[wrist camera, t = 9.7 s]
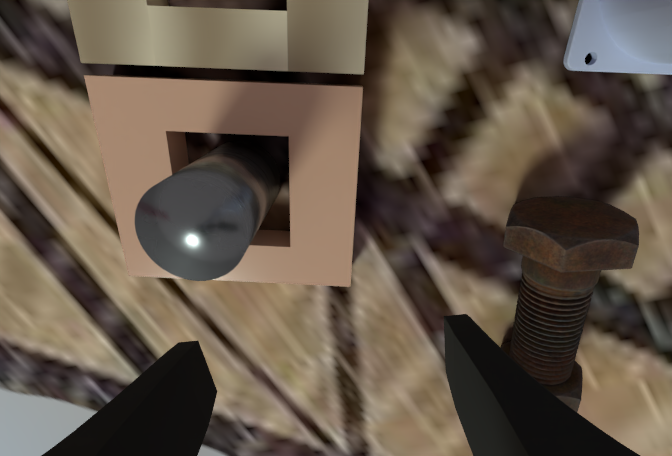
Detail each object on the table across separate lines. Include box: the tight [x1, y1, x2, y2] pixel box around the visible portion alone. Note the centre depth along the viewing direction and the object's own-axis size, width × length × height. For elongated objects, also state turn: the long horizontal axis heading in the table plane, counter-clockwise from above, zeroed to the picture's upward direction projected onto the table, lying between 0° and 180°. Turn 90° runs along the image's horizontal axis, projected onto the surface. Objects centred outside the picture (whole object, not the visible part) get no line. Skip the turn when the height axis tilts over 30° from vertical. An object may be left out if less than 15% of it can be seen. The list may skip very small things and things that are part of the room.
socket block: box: [84, 75, 363, 287], centre depth 18 cm, size 12×10×2 cm
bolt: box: [501, 196, 639, 412], centre depth 20 cm, size 6×5×15 cm
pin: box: [135, 140, 281, 281], centre depth 16 cm, size 4×4×7 cm
